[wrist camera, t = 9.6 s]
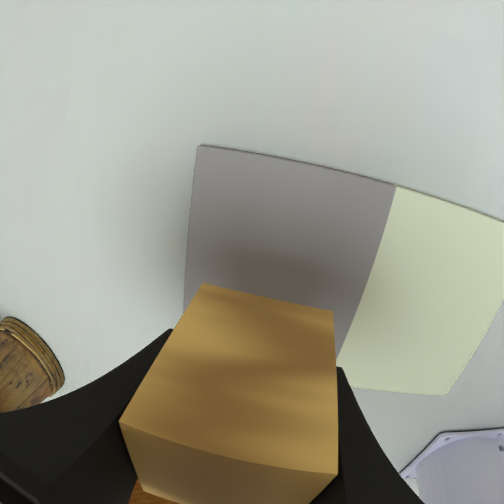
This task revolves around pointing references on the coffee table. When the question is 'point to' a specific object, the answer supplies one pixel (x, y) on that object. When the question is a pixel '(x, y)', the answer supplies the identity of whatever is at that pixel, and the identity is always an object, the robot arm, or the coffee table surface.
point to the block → (238, 404)
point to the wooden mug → (25, 367)
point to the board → (351, 262)
